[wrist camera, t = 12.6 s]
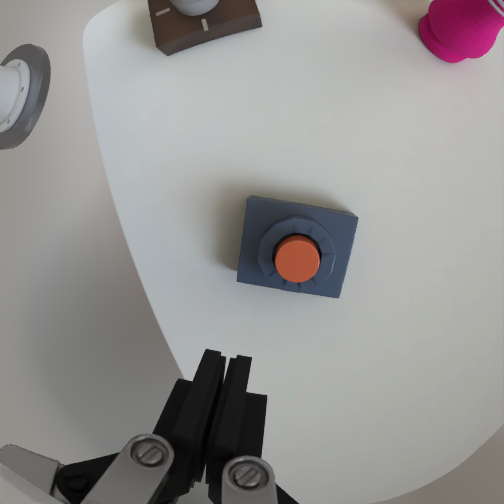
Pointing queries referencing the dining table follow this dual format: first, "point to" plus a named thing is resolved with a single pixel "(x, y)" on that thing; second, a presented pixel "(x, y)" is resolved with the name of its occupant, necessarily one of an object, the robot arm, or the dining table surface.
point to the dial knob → (194, 6)
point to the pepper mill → (461, 28)
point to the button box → (289, 224)
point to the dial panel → (200, 23)
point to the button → (297, 259)
